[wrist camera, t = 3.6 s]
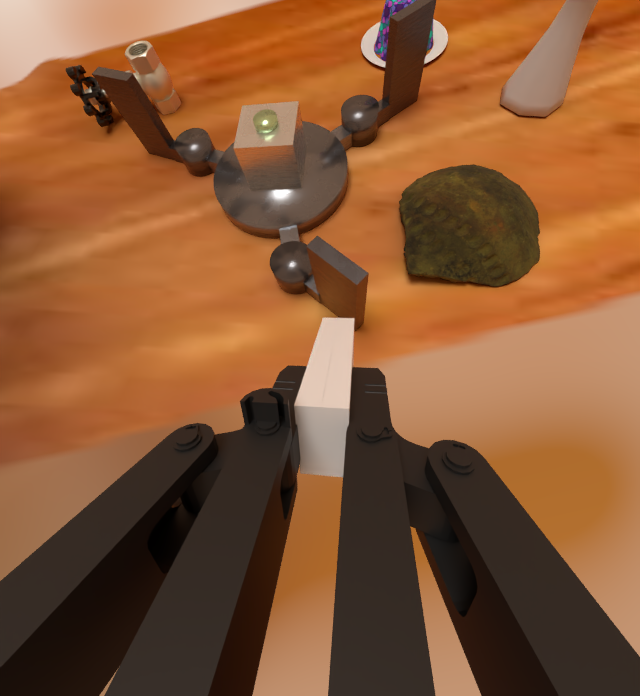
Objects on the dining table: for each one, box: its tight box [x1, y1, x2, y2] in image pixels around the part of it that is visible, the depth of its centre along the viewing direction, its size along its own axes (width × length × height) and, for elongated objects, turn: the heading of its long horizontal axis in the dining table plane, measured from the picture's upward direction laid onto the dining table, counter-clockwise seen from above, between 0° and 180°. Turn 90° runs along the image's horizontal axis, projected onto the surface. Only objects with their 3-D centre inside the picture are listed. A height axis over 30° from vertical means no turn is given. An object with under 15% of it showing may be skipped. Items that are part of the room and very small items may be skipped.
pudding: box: [361, 0, 448, 67], centre depth 38 cm, size 12×12×5 cm
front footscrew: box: [270, 236, 368, 331], centre depth 25 cm, size 11×4×9 cm, turn 46°
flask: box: [500, 0, 598, 117], centre depth 30 cm, size 7×7×10 cm
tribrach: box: [92, 0, 436, 244], centre depth 31 cm, size 36×25×9 cm
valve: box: [66, 41, 181, 127], centre depth 39 cm, size 7×7×12 cm
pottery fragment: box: [399, 165, 540, 287], centre depth 28 cm, size 14×14×4 cm
